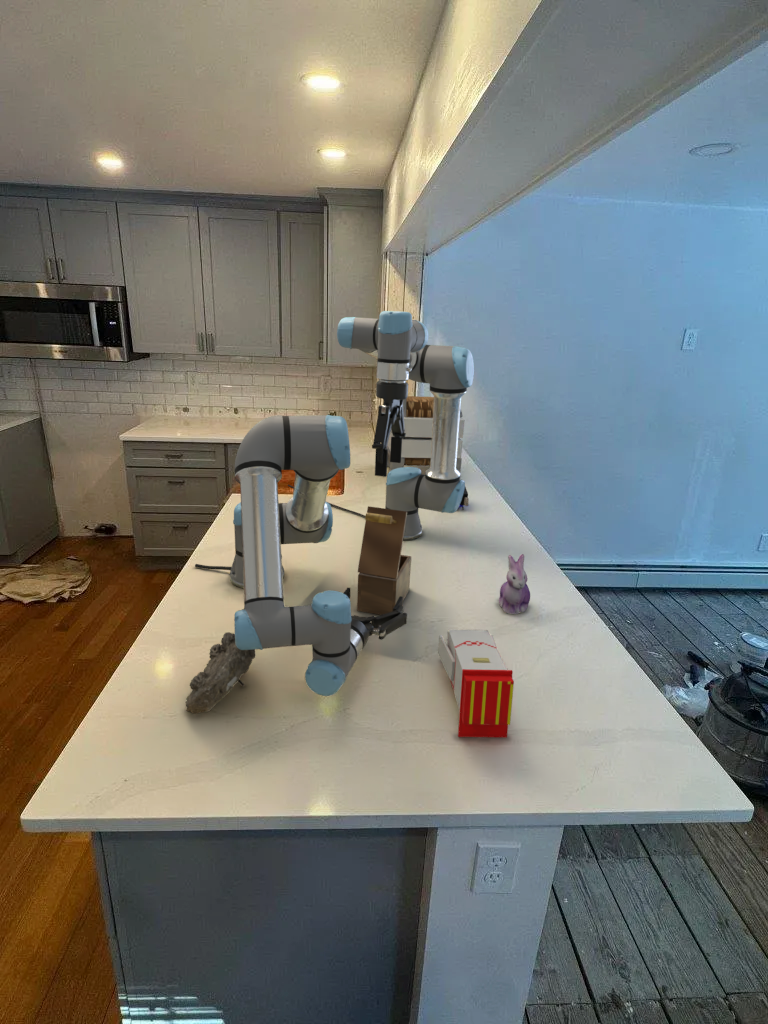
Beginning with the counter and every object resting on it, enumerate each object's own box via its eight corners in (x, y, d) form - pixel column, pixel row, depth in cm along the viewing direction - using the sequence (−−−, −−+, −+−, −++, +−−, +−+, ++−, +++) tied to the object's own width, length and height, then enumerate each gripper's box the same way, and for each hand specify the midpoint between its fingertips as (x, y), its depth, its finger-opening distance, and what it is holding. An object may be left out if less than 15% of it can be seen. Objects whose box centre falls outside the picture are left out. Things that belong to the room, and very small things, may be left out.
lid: (369, 506, 146) (359, 502, 138) (407, 512, 144) (400, 508, 135) (358, 572, 145) (348, 572, 137) (397, 578, 143) (389, 579, 134)
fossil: (206, 634, 127) (255, 603, 122) (236, 663, 130) (284, 634, 125) (163, 707, 107) (218, 674, 102) (199, 739, 110) (254, 708, 105)
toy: (488, 613, 130) (523, 677, 101) (484, 667, 133) (517, 744, 104) (435, 612, 130) (455, 676, 101) (432, 666, 133) (451, 743, 103)
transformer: (382, 463, 289) (386, 382, 275) (445, 464, 293) (451, 384, 279) (390, 482, 257) (394, 392, 243) (460, 483, 261) (468, 394, 247)
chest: (374, 584, 163) (376, 550, 159) (409, 589, 160) (411, 556, 157) (356, 610, 148) (358, 574, 145) (394, 617, 146) (396, 581, 142)
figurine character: (468, 514, 225) (463, 498, 239) (470, 497, 222) (465, 482, 235) (451, 514, 225) (447, 498, 238) (453, 497, 222) (449, 481, 235)
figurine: (512, 619, 147) (519, 566, 142) (488, 601, 156) (494, 551, 151) (540, 611, 151) (548, 560, 146) (515, 594, 160) (522, 546, 155)
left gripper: (293, 645, 127) (327, 601, 146) (402, 666, 121) (422, 618, 140) (293, 615, 124) (328, 575, 144) (403, 636, 118) (424, 591, 138)
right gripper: (394, 388, 120) (389, 484, 127) (419, 376, 143) (414, 458, 150) (360, 385, 122) (358, 480, 129) (391, 374, 145) (387, 455, 152)
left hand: (374, 596), depth 142 cm, fingers open, 13 cm apart
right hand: (388, 468), depth 140 cm, fingers open, 13 cm apart
